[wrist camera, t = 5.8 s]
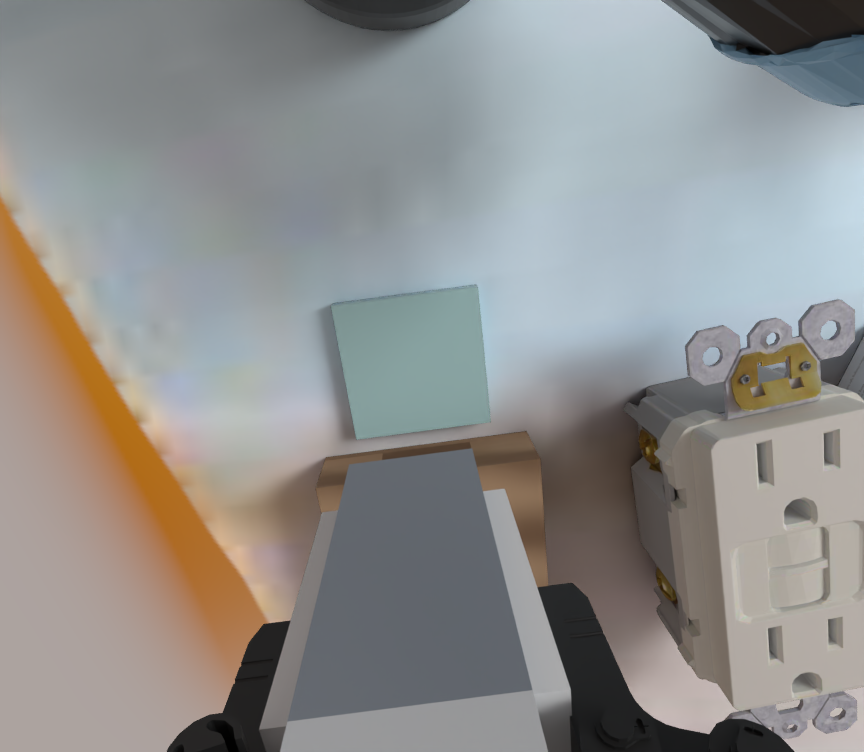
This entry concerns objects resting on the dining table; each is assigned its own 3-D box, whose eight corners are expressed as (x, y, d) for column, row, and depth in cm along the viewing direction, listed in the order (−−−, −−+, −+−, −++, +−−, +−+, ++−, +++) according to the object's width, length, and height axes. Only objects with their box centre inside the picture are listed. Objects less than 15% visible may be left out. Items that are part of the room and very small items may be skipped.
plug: (349, 464, 16) (260, 832, 7) (472, 448, 16) (558, 794, 7) (369, 565, 17) (319, 992, 8) (483, 550, 17) (569, 961, 8)
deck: (333, 303, 31) (330, 306, 30) (475, 284, 31) (477, 287, 30) (357, 433, 34) (356, 439, 33) (488, 416, 34) (490, 422, 33)
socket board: (325, 457, 35) (314, 490, 31) (526, 431, 35) (541, 460, 31) (380, 708, 42) (377, 761, 38) (544, 686, 42) (558, 737, 38)
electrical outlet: (646, 655, 41) (715, 783, 31) (598, 317, 34) (670, 348, 24) (789, 626, 41) (904, 747, 31) (772, 278, 33) (917, 293, 24)
